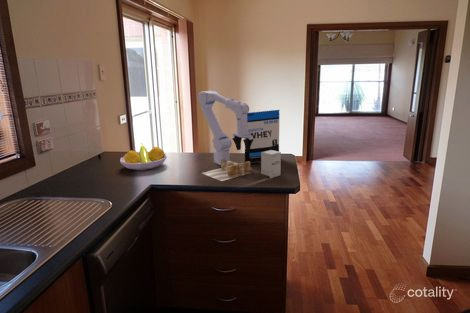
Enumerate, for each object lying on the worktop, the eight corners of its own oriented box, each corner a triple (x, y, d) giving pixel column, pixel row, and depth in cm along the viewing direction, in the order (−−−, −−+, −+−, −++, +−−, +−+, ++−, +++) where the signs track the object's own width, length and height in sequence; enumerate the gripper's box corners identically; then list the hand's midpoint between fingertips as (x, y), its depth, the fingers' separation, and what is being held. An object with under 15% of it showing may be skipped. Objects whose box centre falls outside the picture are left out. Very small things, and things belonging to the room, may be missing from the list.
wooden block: (229, 176, 171) (229, 166, 170) (227, 175, 172) (227, 166, 171) (250, 170, 180) (250, 161, 178) (248, 170, 181) (248, 161, 180)
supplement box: (271, 178, 169) (271, 154, 166) (260, 175, 175) (260, 151, 171) (281, 175, 174) (281, 151, 170) (270, 172, 179) (270, 149, 176)
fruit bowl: (162, 173, 183) (160, 153, 180) (113, 174, 184) (111, 154, 181) (172, 159, 210) (171, 142, 207) (130, 160, 211) (128, 143, 208)
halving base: (201, 174, 178) (200, 164, 177) (230, 167, 190) (230, 157, 189) (221, 183, 164) (221, 171, 163) (252, 174, 176) (251, 163, 175)
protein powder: (240, 163, 199) (239, 112, 191) (274, 157, 210) (274, 109, 202) (249, 166, 190) (248, 114, 183) (283, 160, 202) (284, 110, 194)
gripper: (256, 126, 177) (257, 151, 181) (239, 124, 188) (240, 147, 192) (246, 128, 173) (247, 153, 176) (229, 125, 184) (230, 149, 187)
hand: (243, 150), depth 184 cm, fingers open, 7 cm apart
